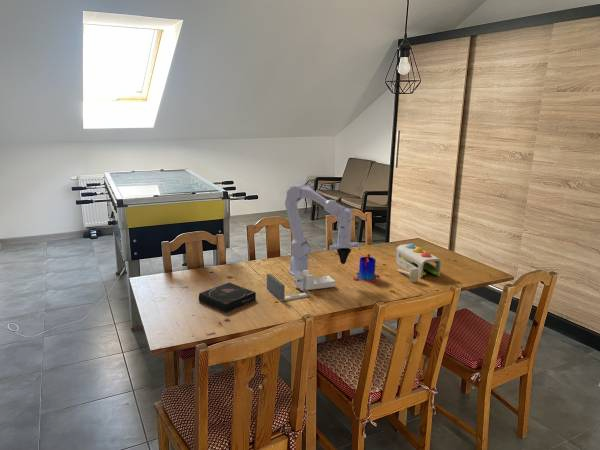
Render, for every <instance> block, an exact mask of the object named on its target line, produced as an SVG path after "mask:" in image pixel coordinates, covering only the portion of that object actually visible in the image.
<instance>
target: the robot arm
mask: <svg viewBox="0 0 600 450" xmlns="http://www.w3.org/2000/svg"><path fill="white" fill-rule="evenodd" d="M302 199H310V200H312V201H313V202H315V203H317V204H318V205H321V206H322V207H323V208H324V211H326V212H327V213H329V215H332V216H333V217H335V218H336V219H337V221H338V224H337V225H338V226H337V227H338V229H337V243H333V244H332V245H328V246H329V247H328V250H329V251H331V252H333V251H335V250H336V252H337V254H338V257H339V263H340V264H341V265H345V264H346V263H347V260H348V257H349V255H350V254H351V252H352V249H351V248H359V243H358V242H357V241H354V242H351V236H352V235H351V234H352V233H351V232H352V218H354V212H353V210H352V209H351V208H350V207H346V206H344V205H341V204H340V203H338V202H337V200H335V199H327V198H325V197H324V196H323V195H321V194H320V193H318V192H316V190H314V189H312V188H311V187H310V186H309V185H307V184H305V183H302V182H300V183H298V184H295V185H292V186H289V188H288V189H287V191H286V197H285V202H284V204H285V210H286V214H287V218H288V222H289V226H290V227H289V228H290V231H291V235H292V241H291V244H290V245H291V252H290V253H291V255H292V256H291V257H290V259H289V260H290V261H289V265H290V266H289V267H290V268H289V270H288V273H289V274H291V276H292V275H293V277H294V270H296V269H297V270H299V271H300V272H302V273H303V270H309V253H310V252H311V244H310V243H309V241H308V238H307V237H305V235H304V230H303V226H302V221H301V217H300V213H299V208H298V204H299V203H300V201H301V200H302ZM309 275H312V274H311V273H309Z"/></svg>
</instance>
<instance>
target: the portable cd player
mask: <svg viewBox="0 0 600 450" xmlns="http://www.w3.org/2000/svg"><path fill="white" fill-rule="evenodd" d="M256 293H257V292H255V291H253V290H251V289H247V288H245V287H243V286H240V285H237V284H234V283H232V282H226V283H224V284H221V285H218V286H216V287H213V288H209V289H208V290H204V291H202V292H199V294H198V302H200V303H202V304H205V305H207V306H210V307H212V308H214V309H216V310H219V311H221V312H224V313H225V314H227V313H229V312H231V311H234V310H236V309H239V308H241V307H243V306H246V305H247V304H250V303H253V302H255V301H256V300H257V298H256Z"/></svg>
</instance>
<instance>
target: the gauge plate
mask: <svg viewBox="0 0 600 450" xmlns="http://www.w3.org/2000/svg"><path fill="white" fill-rule="evenodd" d="M306 281H307V276H306V275H305V274H303V273H302V272H300V271H299V270H297V269H296V270H294V276H293V285H294V286H295V287H297V288H298V289H299V290H301V291H302V292H304V293H306V292H307V293H308V294H309V291H308V290H307V288H306Z"/></svg>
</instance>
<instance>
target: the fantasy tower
mask: <svg viewBox="0 0 600 450" xmlns="http://www.w3.org/2000/svg"><path fill="white" fill-rule="evenodd" d="M358 266H359V267H358V269H359V270H358V271H357V272H356V275H357V276H356V277H354V278H352V280H353V281H355V282H359V281H360V282H366V283H371V284H377V283H378V282H377V280H378V279H377V278H380V276H381V275H379V274H377V273H375V272H376V258H374V257H371V254H370V253H367V256H362V257H360V258H359V265H358Z"/></svg>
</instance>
